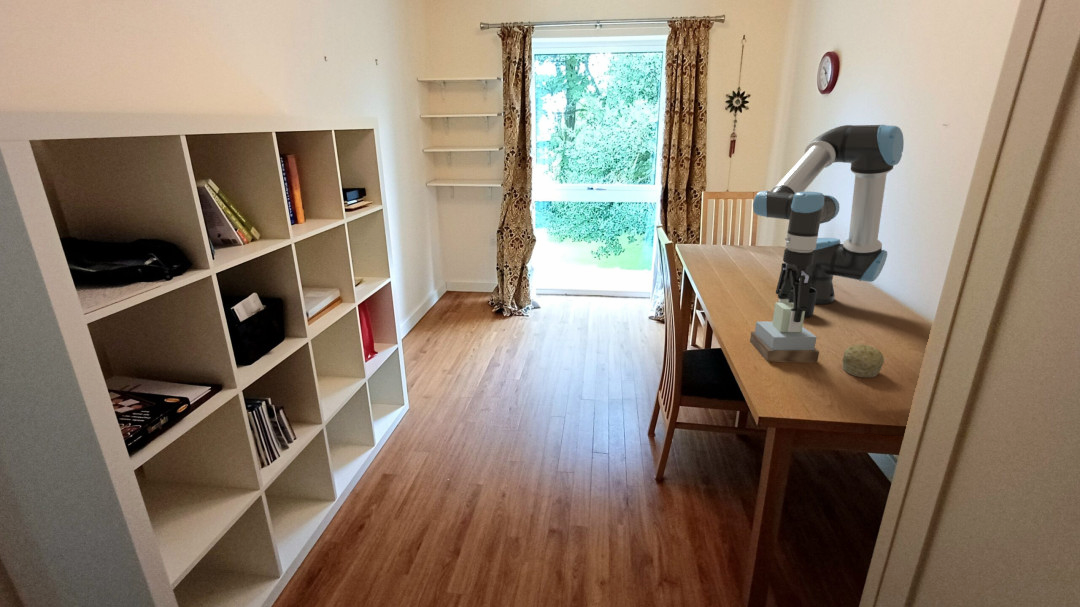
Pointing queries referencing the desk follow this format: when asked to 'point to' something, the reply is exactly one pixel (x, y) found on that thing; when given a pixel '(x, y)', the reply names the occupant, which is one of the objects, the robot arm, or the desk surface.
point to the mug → (811, 301)
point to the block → (784, 316)
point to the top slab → (784, 337)
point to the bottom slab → (783, 352)
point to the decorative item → (862, 360)
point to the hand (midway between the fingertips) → (786, 325)
